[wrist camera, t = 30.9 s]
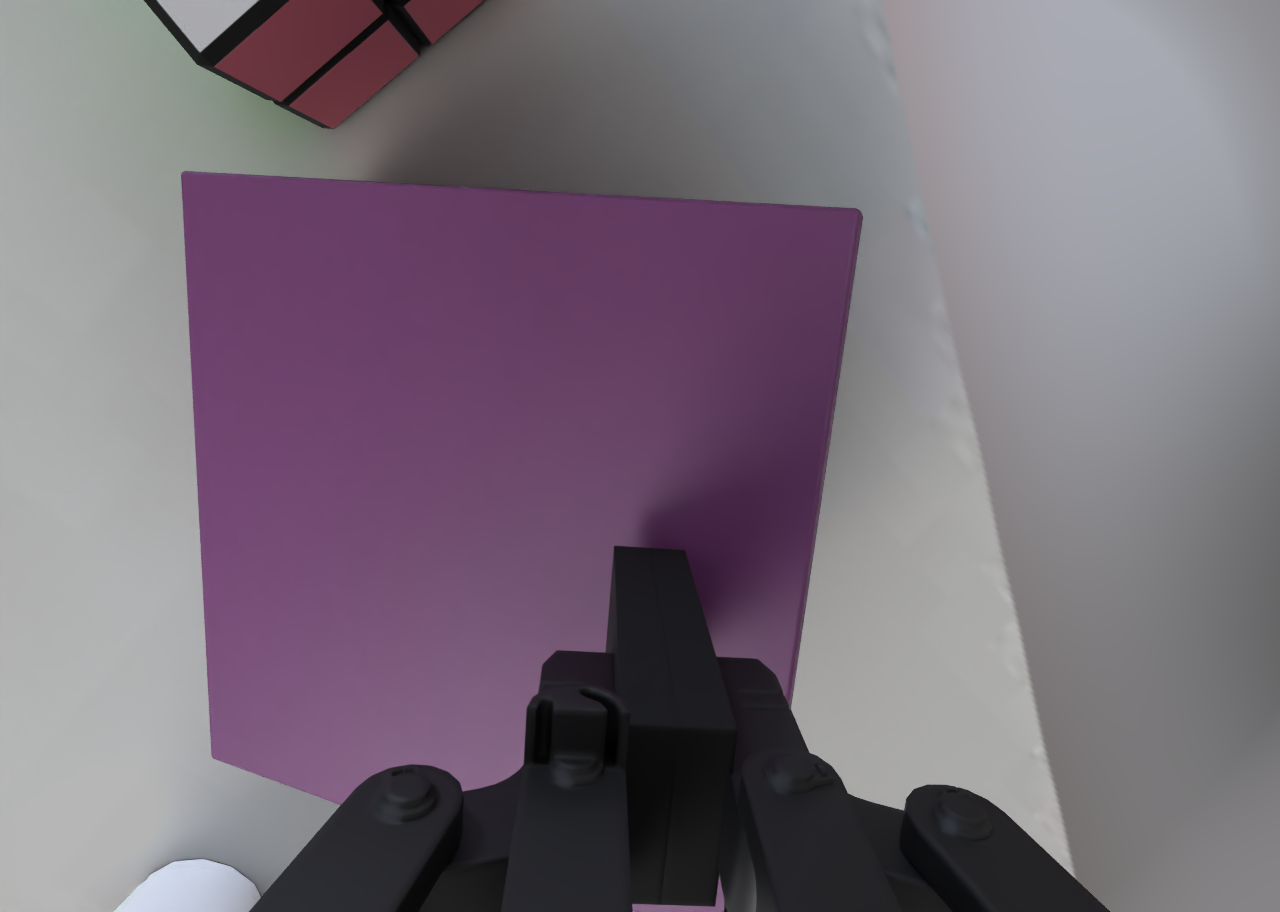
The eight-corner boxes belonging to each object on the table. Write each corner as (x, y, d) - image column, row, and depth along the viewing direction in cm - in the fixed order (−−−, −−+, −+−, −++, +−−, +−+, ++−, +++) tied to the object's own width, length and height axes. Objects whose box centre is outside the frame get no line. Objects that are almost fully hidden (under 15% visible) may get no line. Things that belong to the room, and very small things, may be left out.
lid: (864, 212, 15) (860, 207, 14) (758, 929, 18) (751, 956, 18) (206, 174, 20) (178, 170, 19) (232, 744, 24) (210, 759, 23)
